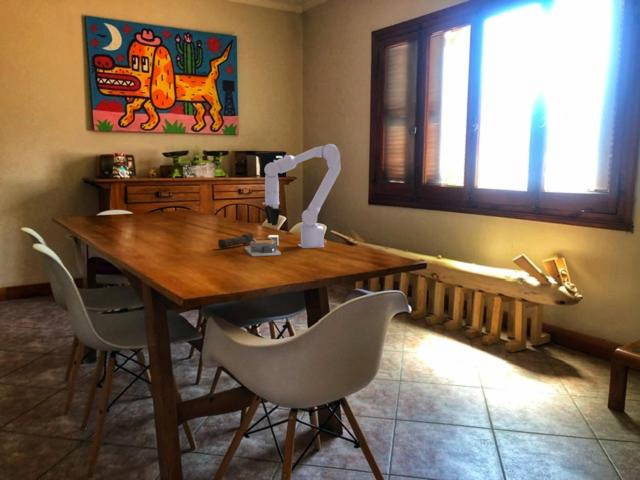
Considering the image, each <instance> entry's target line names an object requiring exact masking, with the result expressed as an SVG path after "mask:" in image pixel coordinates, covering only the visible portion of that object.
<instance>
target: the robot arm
mask: <svg viewBox="0 0 640 480" xmlns="http://www.w3.org/2000/svg"><path fill="white" fill-rule="evenodd" d="M313 158H323V159H324V160H325V162H326V164H327V166H328V171H327V172H326V173H325V175H324V178H323V179H322V181H321V183H320V185H319V187H318V189H317V191H316V193H315V195H314V196H313V199H312V200H311V201H310V204H309V205H308V207H307V208H306V209H305V210H303V212H302V214H301V221H302V224H300V244H297V245H298V247H300V248H302V249H311V248H313V249H314V248H325V230H324V226H323V225H319V224H318V223H317V222H318V215H319V213H320V212H321V208H322V206H323V204H324V202H325V201H326V198H327V197H328V195H329V193H330V191H331V189H332V187H333V185H334V184H335V182H336V180H337V178H338V177H339V175H340V172H342V171H341V170H342V166H341V165H342V164H341V153H340V151H339V148H338V146H336V145H335V144H333V143H327V144H326V145H321V146H317V147H316V146H315V147H313V148H311V149H309V150H306V151H304V152H302V153H300V154H296V156H295V155H291V154H289V155H288V154H285V155H284V156H283V157H281V158H279V159H277V160H276V159H273V162H269V163H267V164H266V165H265V166H264V173H265V177H264V179H265V180H264V201H265V202H261V203H262V205H265V206H263V210H264V212H265V216H266V221H267V224H271V226H273V227H274V226H277V225H278V223H279V217H280V215H281V212H282V208H279V205H280V198H279V197H280V193H279V192H280V184H279V183H280V181H279V175H278V174H283V173H284V174H285V173H286V172H289V171H291V170H293V169H295V168H296V167H297V165H298V164H299V163H302V162H304V161H307V160H311V159H313Z"/></svg>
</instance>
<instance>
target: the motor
mask: <svg viewBox="0 0 640 480" xmlns="http://www.w3.org/2000/svg"><path fill="white" fill-rule="evenodd" d="M252 240H253V241H251V242H250V244H249V245H250V246H249V245H248V246H244V250H245V251H246V252H247V253H248V254H249V255H250V256H251V257H265V256H266V257H267V256H268V257H269V256H281V255H282V252H281V251H280V250H279V249H277V247H276V241H274V240H273V239H271V238H268V237H260V238H259V237H256V238H255V237H254V238H253V239H252Z"/></svg>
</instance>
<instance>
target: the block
mask: <svg viewBox="0 0 640 480" xmlns="http://www.w3.org/2000/svg"><path fill="white" fill-rule="evenodd" d="M267 238H271V239H273V240H274V241H276V248H278V246H279V235H278V234H271V235H270V234H269V235H268V236H267Z"/></svg>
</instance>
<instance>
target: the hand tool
mask: <svg viewBox="0 0 640 480" xmlns="http://www.w3.org/2000/svg"><path fill="white" fill-rule="evenodd" d="M253 238H255V237H254V234H253V233H251V232H250V233H243V234H242V235H241V236H236V237H231V238H230V237H229V238H223V239H222V238H219V239H218V240H217V241H218V247H219V249H225V248H226V249H227V248H229V247H234V246H238V245H243V246H244V245H245V246H247V245H248V246H249V245H250V242H251V241H253V240H252V239H253Z"/></svg>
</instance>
